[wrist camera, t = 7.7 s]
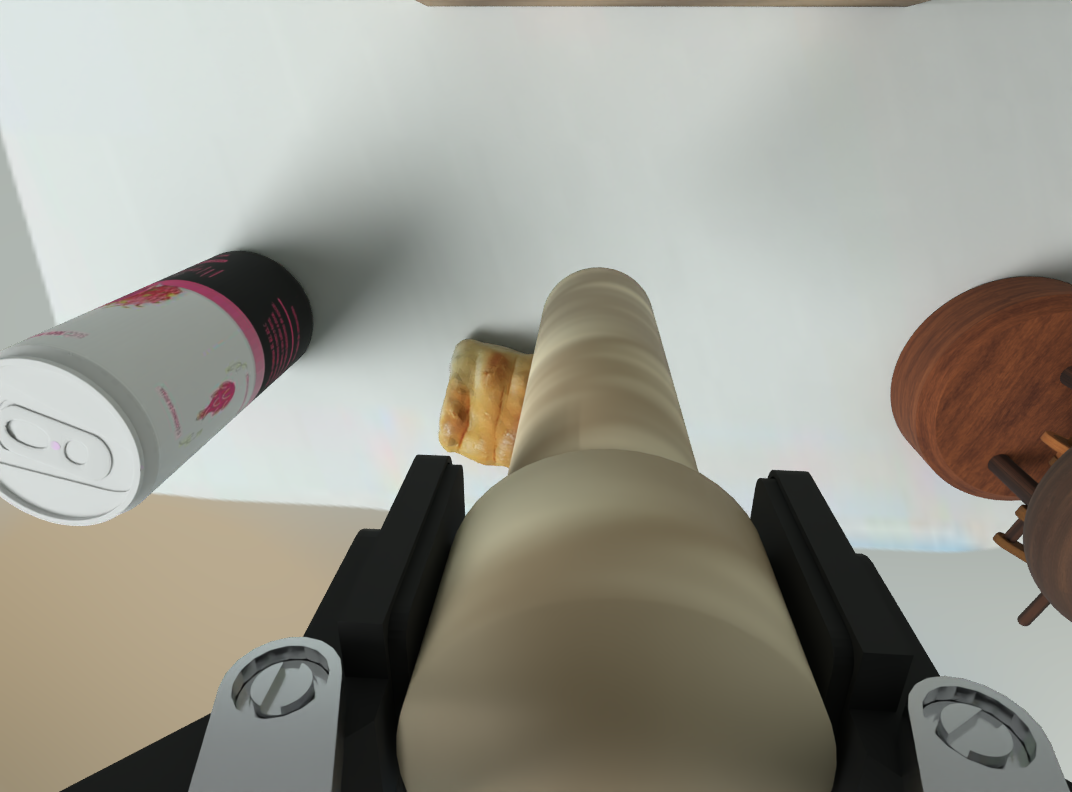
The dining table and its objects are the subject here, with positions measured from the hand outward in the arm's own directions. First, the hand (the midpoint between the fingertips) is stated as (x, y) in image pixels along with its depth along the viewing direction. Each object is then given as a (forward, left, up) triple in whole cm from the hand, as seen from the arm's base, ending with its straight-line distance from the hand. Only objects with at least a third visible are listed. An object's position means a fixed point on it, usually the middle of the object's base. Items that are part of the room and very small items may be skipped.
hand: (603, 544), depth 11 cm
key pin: (0, 0, -12) cm, 12 cm away
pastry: (+4, +8, -24) cm, 26 cm away
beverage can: (+18, +4, -24) cm, 30 cm away
